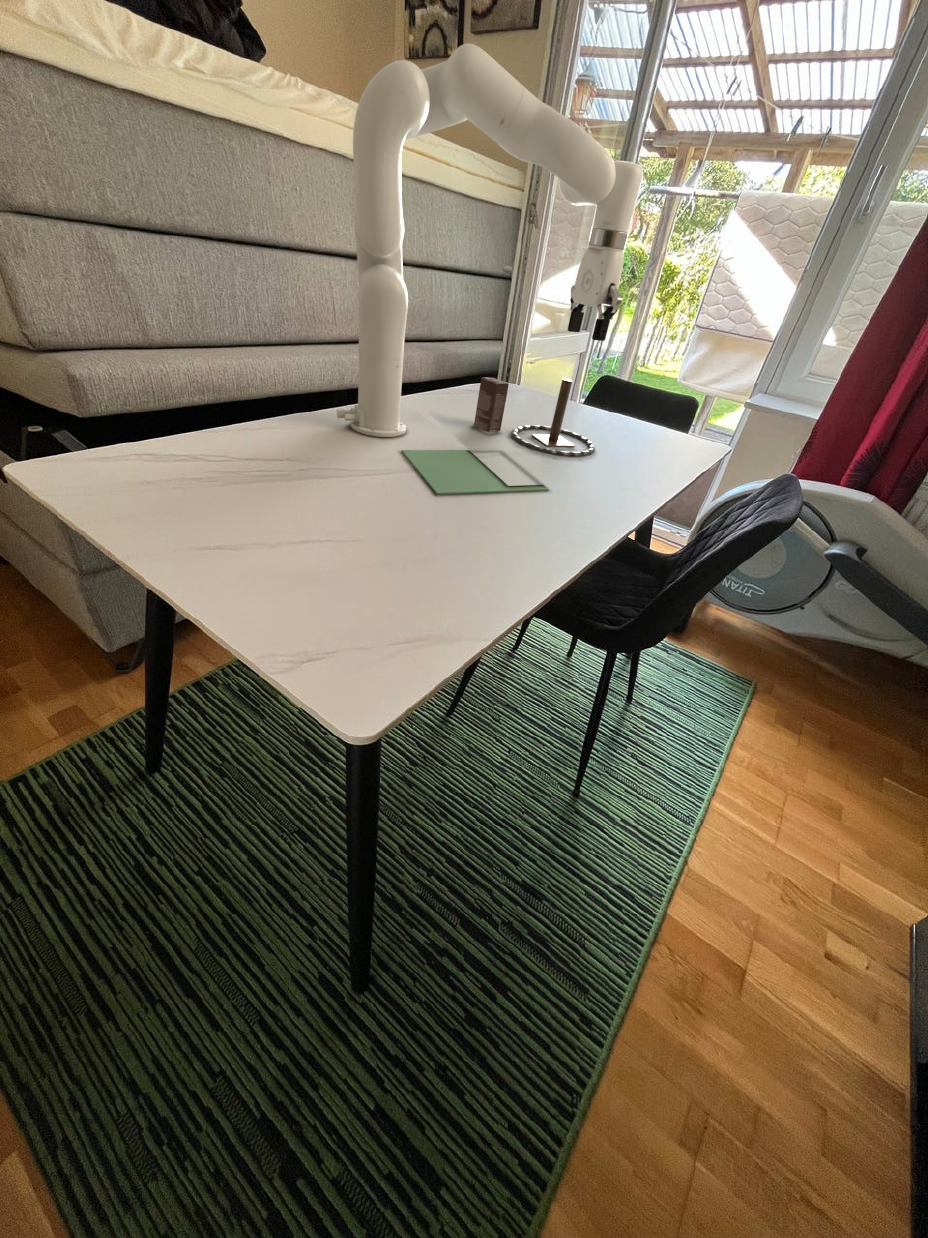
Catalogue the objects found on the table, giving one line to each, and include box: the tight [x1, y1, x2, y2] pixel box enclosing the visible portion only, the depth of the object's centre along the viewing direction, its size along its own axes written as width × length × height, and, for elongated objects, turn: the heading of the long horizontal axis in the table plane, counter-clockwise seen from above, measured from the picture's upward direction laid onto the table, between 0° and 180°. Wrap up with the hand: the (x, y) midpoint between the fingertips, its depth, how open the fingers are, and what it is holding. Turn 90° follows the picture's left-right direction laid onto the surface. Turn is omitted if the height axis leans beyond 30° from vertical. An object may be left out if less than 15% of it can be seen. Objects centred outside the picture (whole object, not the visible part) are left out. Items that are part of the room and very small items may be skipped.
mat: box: [401, 449, 549, 496], centre depth 107 cm, size 24×22×1 cm
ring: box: [510, 424, 596, 458], centre depth 129 cm, size 21×21×2 cm
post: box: [531, 378, 576, 448], centre depth 125 cm, size 8×8×15 cm
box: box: [473, 377, 510, 433], centre depth 128 cm, size 6×4×12 cm
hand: (585, 335), depth 116 cm, fingers open, 9 cm apart
